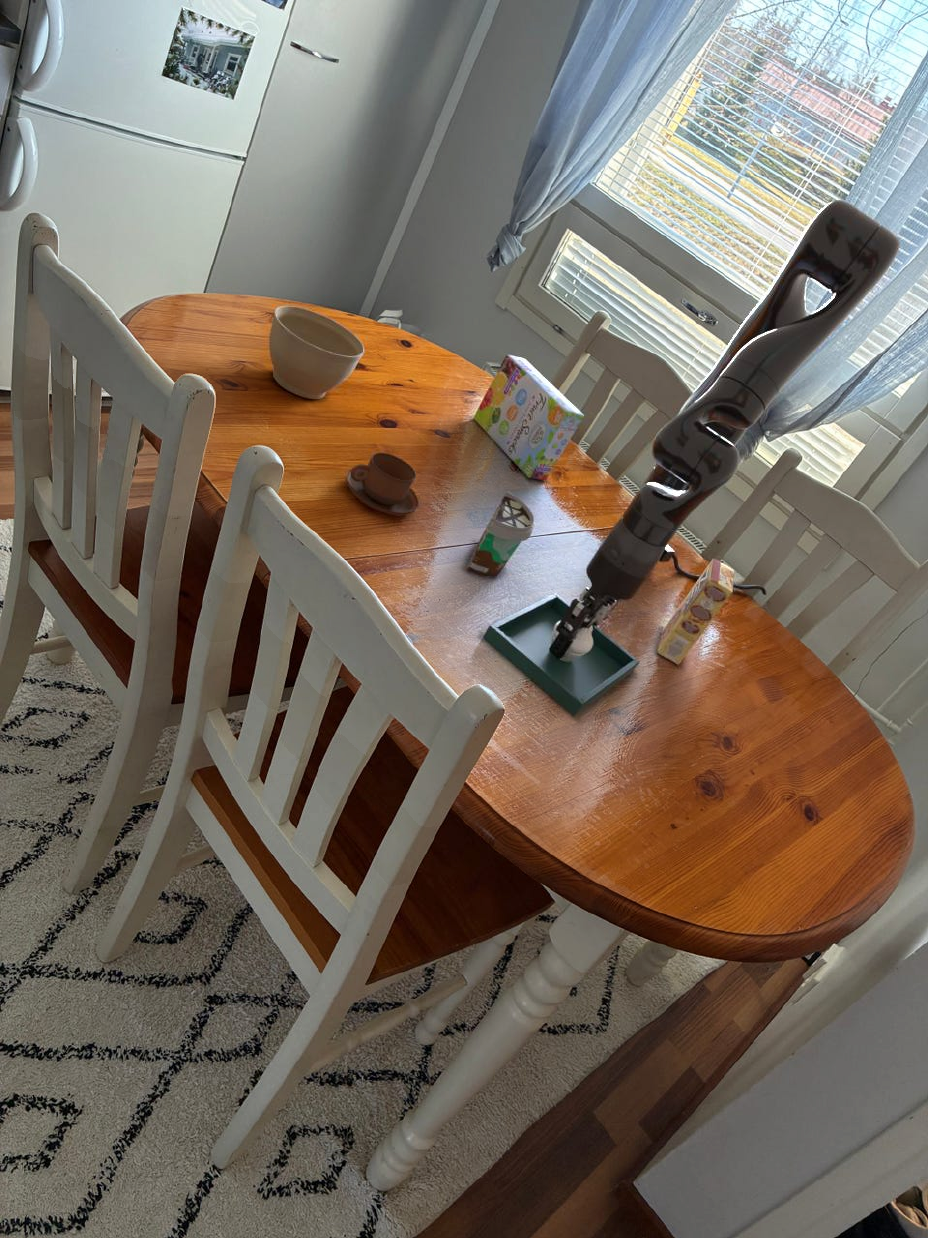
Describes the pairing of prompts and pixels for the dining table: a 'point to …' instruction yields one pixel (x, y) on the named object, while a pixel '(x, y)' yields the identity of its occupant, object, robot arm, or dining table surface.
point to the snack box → (527, 417)
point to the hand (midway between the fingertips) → (565, 647)
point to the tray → (565, 682)
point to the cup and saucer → (384, 484)
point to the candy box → (696, 611)
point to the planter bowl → (311, 351)
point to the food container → (502, 536)
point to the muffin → (576, 643)
